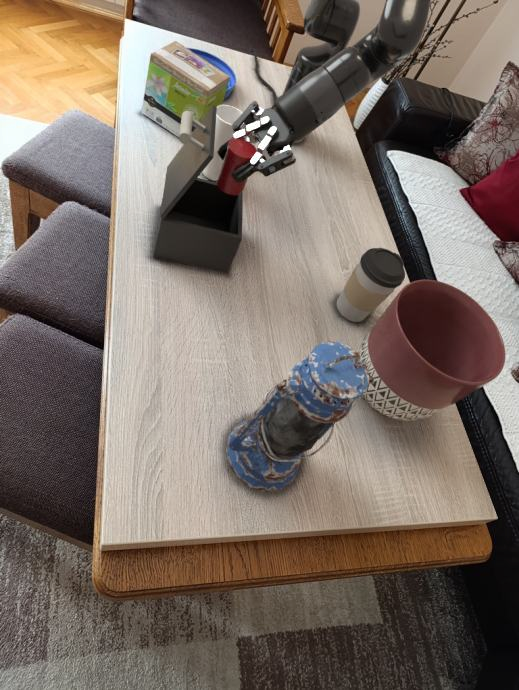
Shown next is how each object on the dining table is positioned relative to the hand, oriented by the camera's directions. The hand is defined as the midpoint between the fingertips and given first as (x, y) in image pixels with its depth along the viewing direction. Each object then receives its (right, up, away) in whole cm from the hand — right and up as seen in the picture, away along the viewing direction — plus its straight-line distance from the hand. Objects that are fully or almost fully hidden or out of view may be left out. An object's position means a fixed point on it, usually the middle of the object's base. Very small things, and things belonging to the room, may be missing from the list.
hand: (227, 167), depth 86 cm
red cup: (0, -2, +4) cm, 5 cm away
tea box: (-14, +22, +33) cm, 42 cm away
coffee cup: (+25, -23, +18) cm, 38 cm away
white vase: (-5, +8, +27) cm, 29 cm away
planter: (+29, -39, +9) cm, 49 cm away
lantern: (+6, -48, -6) cm, 49 cm away
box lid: (-6, 0, -1) cm, 6 cm away
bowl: (-10, +39, +46) cm, 61 cm away
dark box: (-8, -10, +14) cm, 19 cm away
